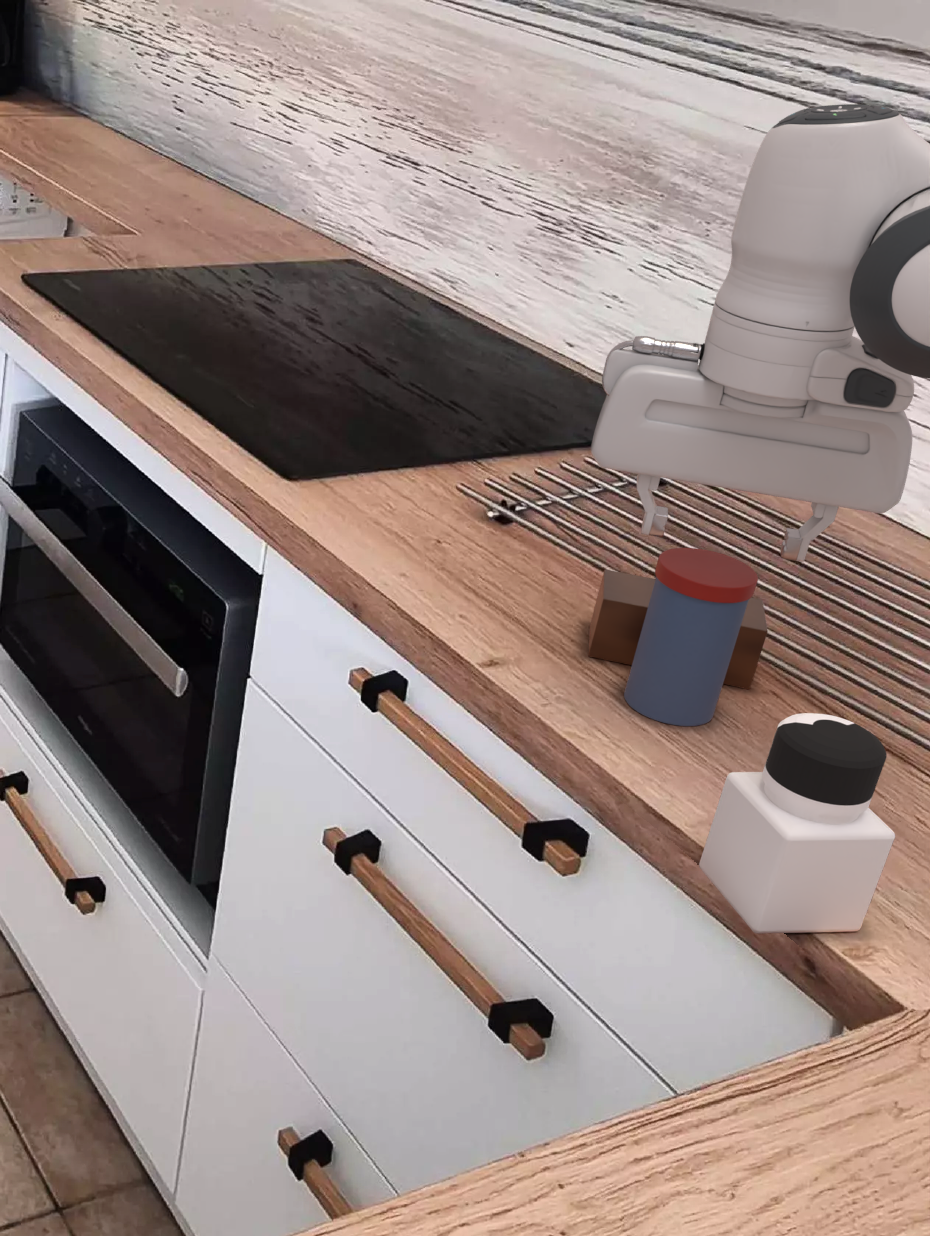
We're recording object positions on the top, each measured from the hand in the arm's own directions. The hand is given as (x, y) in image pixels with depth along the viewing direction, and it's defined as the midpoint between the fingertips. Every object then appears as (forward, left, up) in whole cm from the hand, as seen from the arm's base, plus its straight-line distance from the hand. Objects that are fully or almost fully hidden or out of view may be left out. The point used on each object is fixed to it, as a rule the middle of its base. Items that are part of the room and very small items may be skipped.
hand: (720, 545), depth 122 cm
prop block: (0, -9, -13) cm, 16 cm away
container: (0, 0, -7) cm, 7 cm away
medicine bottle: (-6, +24, -13) cm, 28 cm away
